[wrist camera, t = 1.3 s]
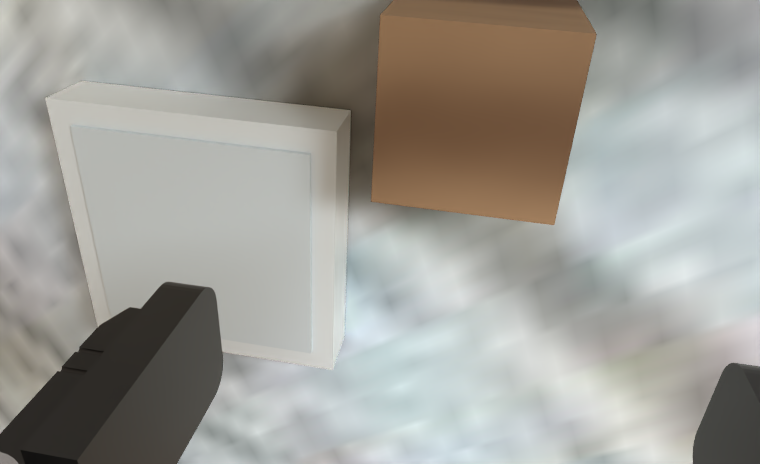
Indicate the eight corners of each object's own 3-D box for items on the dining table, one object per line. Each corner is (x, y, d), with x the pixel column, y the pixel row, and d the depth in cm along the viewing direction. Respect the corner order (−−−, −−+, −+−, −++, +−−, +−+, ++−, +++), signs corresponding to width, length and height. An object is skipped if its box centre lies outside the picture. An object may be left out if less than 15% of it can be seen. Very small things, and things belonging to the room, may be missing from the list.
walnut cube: (408, -16, 23) (380, 14, 18) (575, -3, 22) (596, 33, 17) (397, 137, 26) (371, 201, 21) (544, 153, 25) (554, 225, 20)
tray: (81, 80, 27) (42, 99, 24) (351, 110, 25) (335, 133, 23) (125, 302, 33) (96, 334, 31) (344, 336, 31) (331, 373, 29)
